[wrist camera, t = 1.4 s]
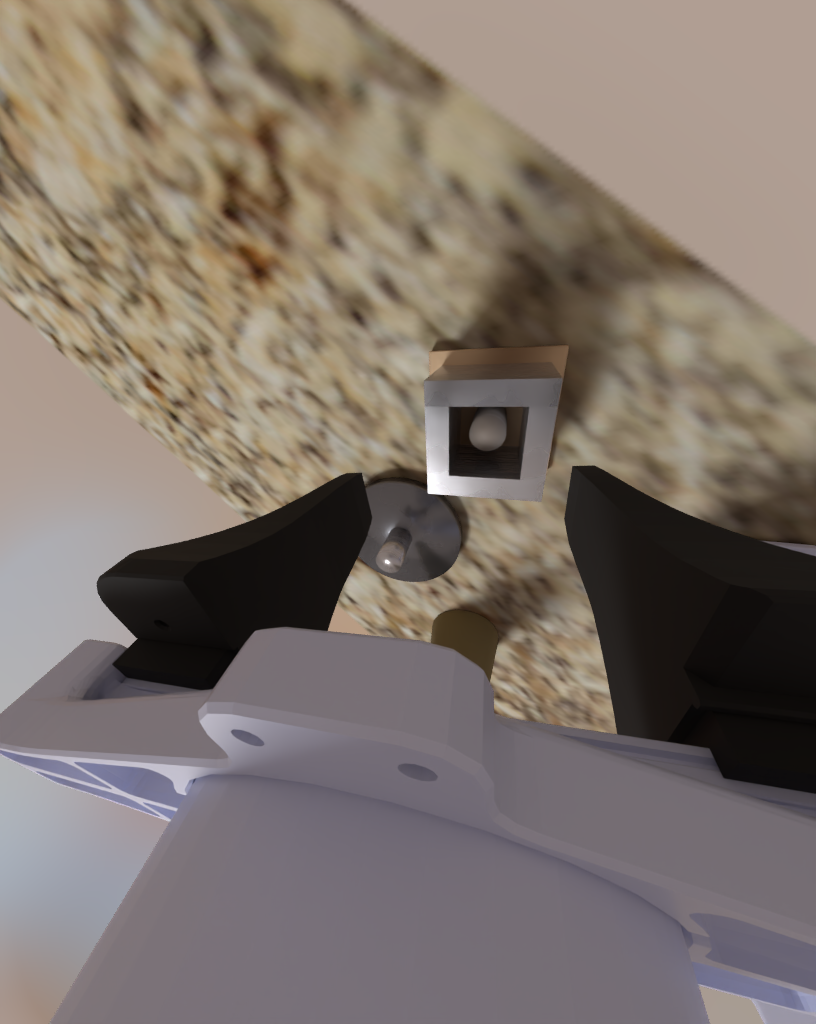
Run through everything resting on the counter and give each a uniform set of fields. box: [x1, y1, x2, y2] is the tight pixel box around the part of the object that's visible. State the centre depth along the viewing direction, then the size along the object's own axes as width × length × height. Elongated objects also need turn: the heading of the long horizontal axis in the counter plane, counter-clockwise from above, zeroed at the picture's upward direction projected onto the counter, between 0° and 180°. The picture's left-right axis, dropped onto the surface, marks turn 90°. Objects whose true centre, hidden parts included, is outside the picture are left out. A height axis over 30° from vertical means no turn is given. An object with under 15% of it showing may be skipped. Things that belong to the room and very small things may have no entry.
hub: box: [358, 478, 462, 582], centre depth 24 cm, size 9×9×4 cm
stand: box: [429, 345, 569, 475], centre depth 18 cm, size 7×7×4 cm
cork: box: [431, 610, 498, 682], centre depth 25 cm, size 6×6×11 cm
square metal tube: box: [424, 362, 563, 502], centre depth 17 cm, size 6×6×4 cm
